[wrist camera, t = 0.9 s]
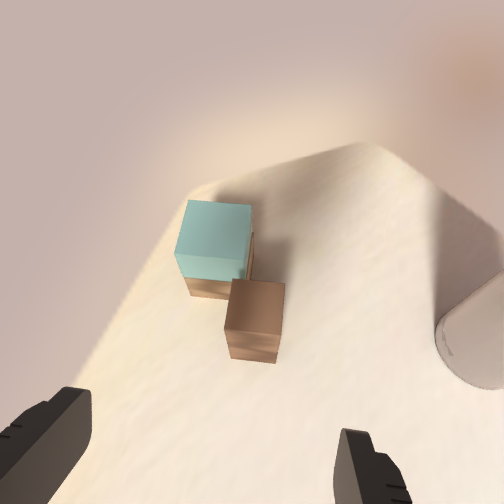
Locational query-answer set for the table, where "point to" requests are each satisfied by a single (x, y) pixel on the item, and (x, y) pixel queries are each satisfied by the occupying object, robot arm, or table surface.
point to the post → (254, 320)
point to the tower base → (216, 283)
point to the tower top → (214, 240)
